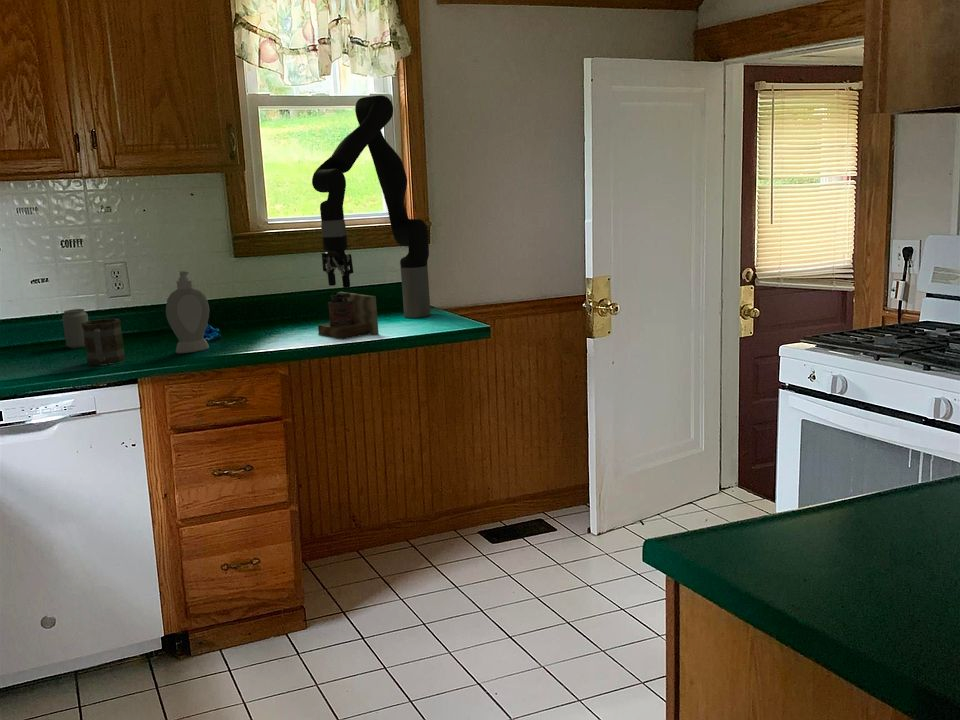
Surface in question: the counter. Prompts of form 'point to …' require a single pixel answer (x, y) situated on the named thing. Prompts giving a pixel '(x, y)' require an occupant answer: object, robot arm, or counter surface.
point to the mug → (103, 341)
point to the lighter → (341, 310)
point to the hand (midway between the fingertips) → (339, 286)
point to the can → (74, 327)
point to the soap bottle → (188, 315)
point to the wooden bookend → (356, 319)
